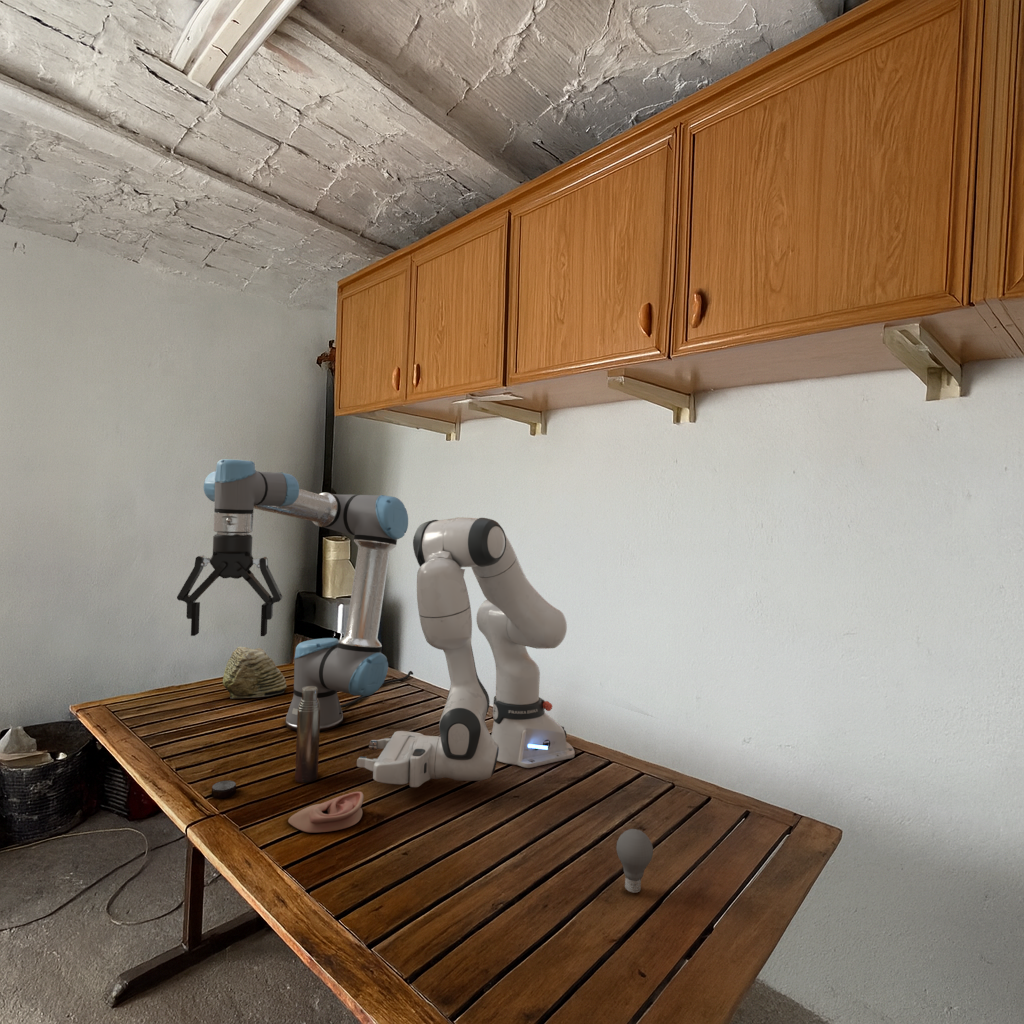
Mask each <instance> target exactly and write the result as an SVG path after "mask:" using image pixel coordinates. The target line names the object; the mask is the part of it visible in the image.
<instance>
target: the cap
mask: <svg viewBox="0 0 1024 1024" xmlns="http://www.w3.org/2000/svg"><path fill="white" fill-rule="evenodd" d="M236 793H237V783H236V782H235V781H233V780H221V781H217V782H215V783H214V784H213V785H212V786H211V797H212V798H214V799H216V800H217V799H219V800H222V799H227V798H230V797H233V796H234V795H235V794H236Z"/></svg>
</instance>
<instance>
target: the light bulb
mask: <svg viewBox="0 0 1024 1024" xmlns="http://www.w3.org/2000/svg"><path fill="white" fill-rule="evenodd" d="M615 849H616V854H617V857H618V859H619V861H620V863H621V865H622V867H623V873H624V874H623V875H624V876H625V878H624V888H625V890H627V891H628V892H630V893H634V894H635V893H639V892H640V891H641V889H642V887H641V886H642V879H643V877H644V875H645V871H646V868H647V867H648V866H649V864H650V863H651V861H652V859H653V855H654V847H653V843H652V841H651V838H649V836H648V835H647V834H646V833H645V832H643V831H642V830H641V829H636V828H629V829H627V830H625V831H623V832H622V833H621V834H620V835H619V837H618V839H617V841H616V847H615Z"/></svg>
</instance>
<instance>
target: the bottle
mask: <svg viewBox="0 0 1024 1024" xmlns="http://www.w3.org/2000/svg"><path fill="white" fill-rule="evenodd" d="M317 691H318V689H317V687H315V686H307V687H303V688H302V699H301V701H300V703H299V706H298V714H297V731H296V740H295V741H296V742H295V744H296V745H295V746H296V747H295V748H296V749H295V770H294V780H295V782H297V783H301V784H308V783H312V782H315V781H316V780H317V779H318V777H319V755H320V754H319V753H320V732H321V731H320V704H319V700H318V698H317Z"/></svg>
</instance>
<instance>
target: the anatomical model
mask: <svg viewBox="0 0 1024 1024" xmlns="http://www.w3.org/2000/svg"><path fill="white" fill-rule="evenodd" d="M363 793H364V792H362V791H353V792H349V793H346V794H343V795H340V796H336V797H334V798H332V799H330V800H327V801H324V802H322V803H317V804H312V805H310V806H306V807H304V808H302V809H300V810H299V811H297V812H296V813H294V814H292V815H291V816H290V817H289V818H288V820H287V822H288V824H289V825H291V826H292V827H294V828H295V829H297V830H299V831H301V832H305V833H308V834H309V833H310V834H311V833H326V832H327V833H328V832H334V831H339V830H344V829H347V828H350V827H352V826H354V825H356V824H358V823H359V822H360V820H361V819H362V817H363V809H362V805H363V803H364V794H363Z"/></svg>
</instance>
